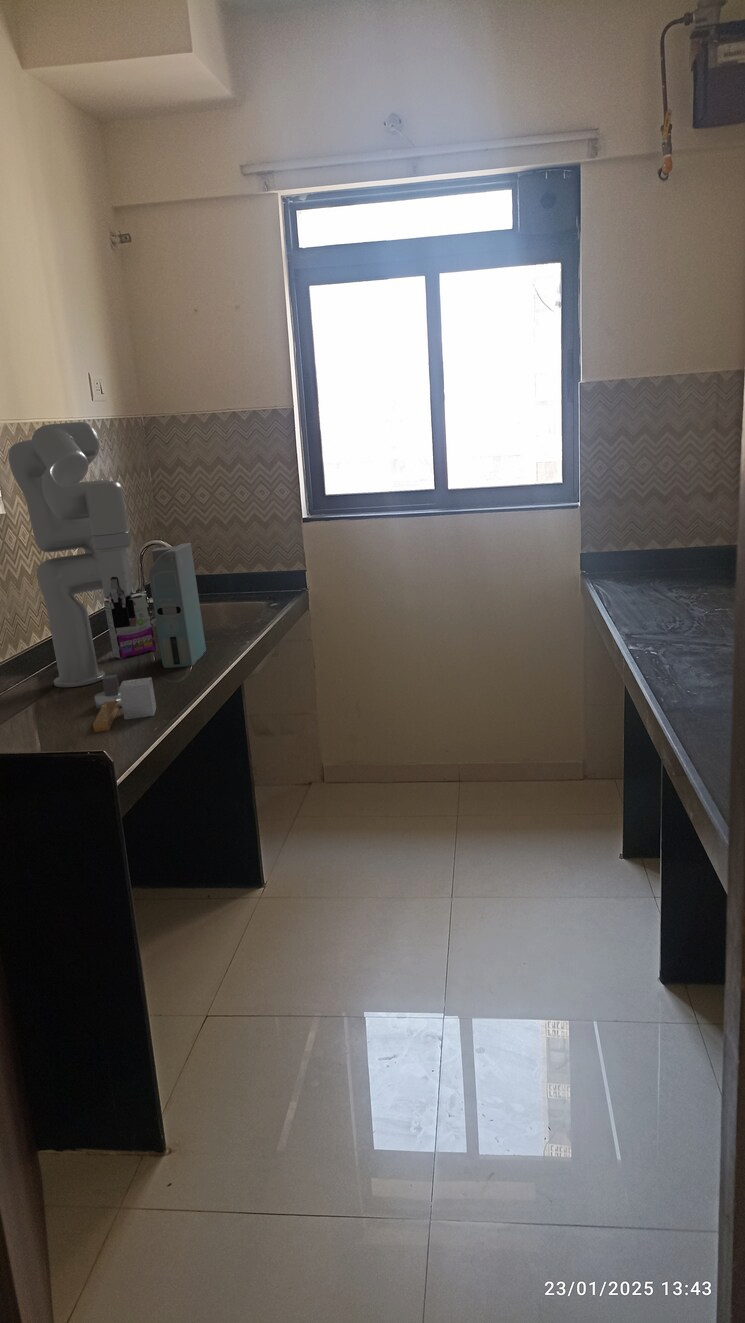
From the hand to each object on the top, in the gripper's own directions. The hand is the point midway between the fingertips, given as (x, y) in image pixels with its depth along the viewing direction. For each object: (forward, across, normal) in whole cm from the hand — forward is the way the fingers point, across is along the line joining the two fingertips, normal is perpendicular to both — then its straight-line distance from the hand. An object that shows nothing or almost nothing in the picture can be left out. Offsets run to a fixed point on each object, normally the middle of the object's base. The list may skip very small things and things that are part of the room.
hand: (125, 622), depth 196 cm
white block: (+20, 0, 0) cm, 20 cm away
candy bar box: (+20, -63, -8) cm, 67 cm away
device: (+20, -48, +7) cm, 53 cm away
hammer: (+20, -3, -7) cm, 22 cm away
